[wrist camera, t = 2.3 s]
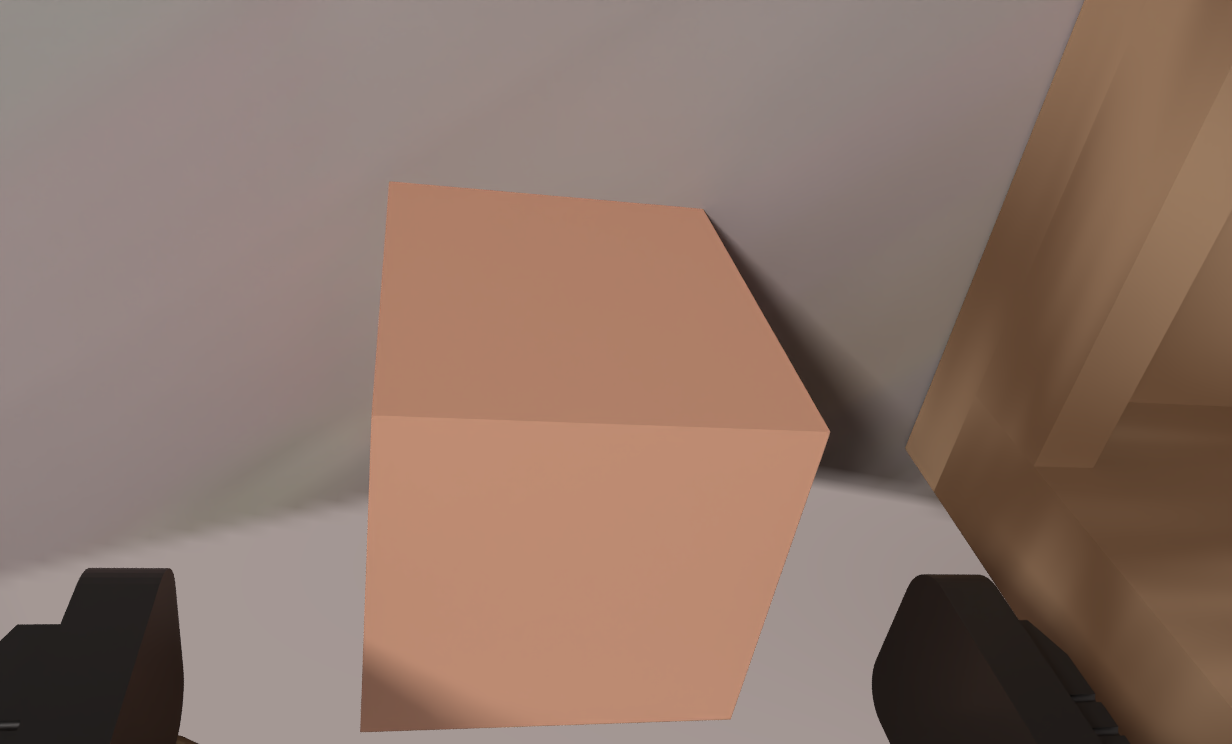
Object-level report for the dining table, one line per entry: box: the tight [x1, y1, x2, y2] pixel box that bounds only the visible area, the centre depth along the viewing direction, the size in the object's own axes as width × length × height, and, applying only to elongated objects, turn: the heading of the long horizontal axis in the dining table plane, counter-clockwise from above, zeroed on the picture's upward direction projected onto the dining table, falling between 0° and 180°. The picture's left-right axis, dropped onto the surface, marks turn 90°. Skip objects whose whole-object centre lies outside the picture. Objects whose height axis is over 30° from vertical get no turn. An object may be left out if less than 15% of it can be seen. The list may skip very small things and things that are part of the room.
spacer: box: [360, 182, 830, 732], centre depth 13 cm, size 4×4×6 cm
